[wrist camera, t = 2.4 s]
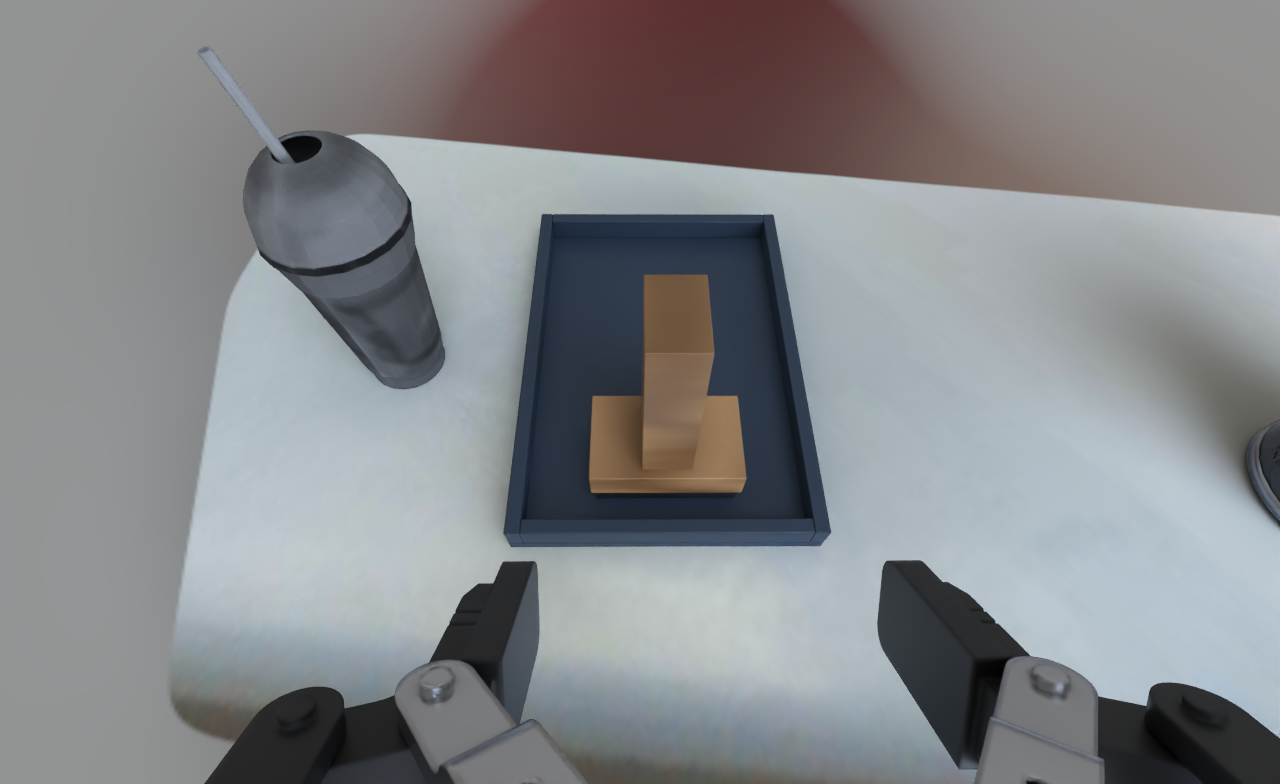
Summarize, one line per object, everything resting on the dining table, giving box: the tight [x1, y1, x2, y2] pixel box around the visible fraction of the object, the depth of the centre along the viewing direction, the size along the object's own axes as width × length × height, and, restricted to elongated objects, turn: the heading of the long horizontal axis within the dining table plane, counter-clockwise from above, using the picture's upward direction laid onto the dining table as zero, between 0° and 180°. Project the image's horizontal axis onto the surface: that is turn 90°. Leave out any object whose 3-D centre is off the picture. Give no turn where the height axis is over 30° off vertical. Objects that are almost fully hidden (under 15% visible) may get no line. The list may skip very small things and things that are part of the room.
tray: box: [504, 214, 831, 547], centre depth 38 cm, size 17×24×2 cm
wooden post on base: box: [589, 275, 746, 498], centre depth 29 cm, size 8×5×13 cm, turn 90°
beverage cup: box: [197, 46, 445, 389], centre depth 30 cm, size 7×7×20 cm
